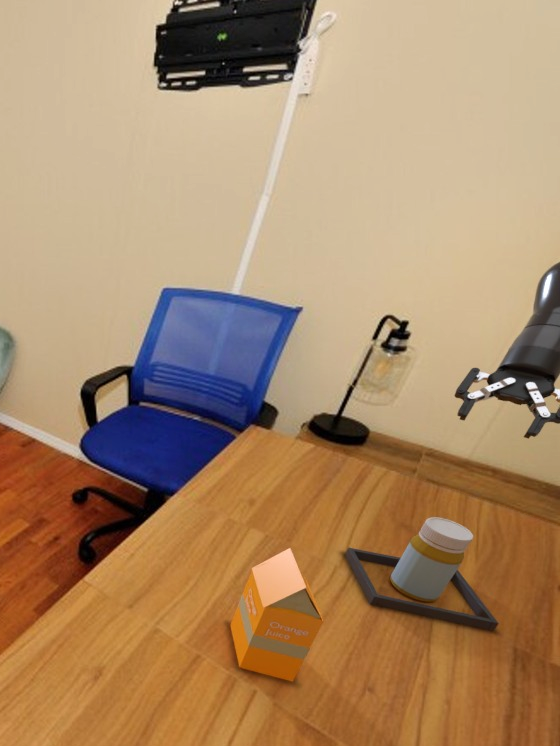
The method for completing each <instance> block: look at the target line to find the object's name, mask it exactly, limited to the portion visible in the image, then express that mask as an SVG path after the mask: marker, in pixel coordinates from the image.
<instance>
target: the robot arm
mask: <svg viewBox="0 0 560 746" xmlns="http://www.w3.org/2000/svg"><path fill="white" fill-rule="evenodd" d="M532 307H533V309H532V314H531V316H530V317H529V319H528V321H527V322H526V324H525V326H524V327H523V329H522V331H520V333H519V334H518V335H517V337H516V338H515V339H514V340H513V342H512V343H511V345H510V346H509V348H508V350H507V352H506V354H505V355H504V357H502V358H503V359H502V360H501V362H500V364H499V365H498V366H497V368H496V370H495V371H494V372H491V373H488V372H484V371H481V370H480V368H479V367H473V368H471V369H470V371H469V372H468V373H467V374H466V376H465V377H464V378H463V380H462V381H461V382H460V384H459V386H457V388H456V390H455V393H454V397H455V398H456V399H460V400H461V401H463V402H462V404H461V406H460V407H459V409H458V411H457V417H459V420H461V421H465V420H466V419H467V417H468V416H469V414H470V412H471V411H472V409H473V408H474V406H475V404H476V403H478V402H481V401H487V400H489V399H492V398H496V399H497V401H502V402H510V403H512V404H515V405H517V406H522V405H526V406H527V407H526V408H528V410H529V412H530V413H532V415H533V416H534V419H533V420H532V421H531V423H530V425H529V427H528V428H527V430H526V432H525V433H524V435H523V438H525V439H530V438H531V437H533V438H535V437H538V435H539V434H540V433H541V431H542V429H543V428H544V426H545V424H547V423H554V424H560V405H559V406H558V408H557V409H556V412H550V410H549V408H548V407H547V404H546V400H545V399H546V398H548V397H551V396H554V397H555V402H557V403H560V388H556V387H555V384H556V382H557V380H558V378H559V377H560V261H558V262H556V263H554V264H553V265H551V266H550V267H549V268H548V269H547V270H545V271H544V273H542V276H541V277H540V279H539V280H538V282H537V286H536V290H535V295H534V300H533V305H532ZM481 381H486V383H487V385H486V386H483V387H482V388H480V389H478V390H476V391H472V392H469V389H470V388H471V387H472V384H477V383H480V382H481Z"/></svg>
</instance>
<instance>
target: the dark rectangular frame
mask: <svg viewBox="0 0 560 746" xmlns="http://www.w3.org/2000/svg"><path fill="white" fill-rule="evenodd" d="M344 556H345V558H346V561H347V562H348V564H349V566H350V568H351V570H352V572H353V574H354V576H355V578H356V579H357V581H358V583H359V586H360V588H361V589H362V591H363V594H364V595H365V597H366V598H367V600H368V603H369V604H370V605H372V606H376V607H377V606H378V607H381V608H387V609H390V610H394V611H395V610H396V611H401V612H404V613H409V614H414V615H418V616H422V617H427V618H432V619H434V620H435V619H436V620H441V621H445V622H450V623H453V624H458V625H463V626H468V627H472V628H477V629H481V630H486V631H490V632H494V631H495V629H496V628H497V627H498V625H499V621H498V620H497V619H496V618H495V617H494V615H493V614H492V612H491V611H490V610H489V608H488V607H487V606H486V604H485V603H484V602H483V601H482V599H481V598H480V597H479V595H478V594H477V593H476V591H474V589H473V588H472V586H471V585H470V584H469V582H467V580H466V579H465V577H464V576H463V575H462V573H461V572H460V571H459V569H457V571H456V572H455V574H454V575H453V577H452V578H451V580H450V581H451V582H452V584H453V586H454V587H455V588H456V589H457V591H458V592H459V593H460V595H461V596H462V597H463V599H464V600H465V601H466V603H467V605H468V606H469V607H470V608H471V610H472V611H473V612H474V614H469V613H465V612H460V611H456V610H451V609H447V608H441V607H437V606H433V605H428V604H423V603H420V602H419V603H418V602H415V601H409V600H404V599H400V598H395V597H390V596H386V595H381V594H378V592H377V590H376V588H375V587H374V584H373V583H372V581H371V579H370V578H369V576H368V573H367V572H366V570H365V568H364V566H363V564H362V563H361V561H364V562H368V563H372V564H373V563H374V564H378V565H384V566H388V567H393V568H395V567H396V565H397V564H398V562H399V560H400V558H401V557H399V556H395V555H390V554H384V553H380V552H379V553H378V552H373V551H368V550H364V549H358V548H353V547H347V549H346V551H345V553H344Z"/></svg>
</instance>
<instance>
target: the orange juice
mask: <svg viewBox="0 0 560 746" xmlns="http://www.w3.org/2000/svg"><path fill="white" fill-rule="evenodd" d="M324 621H325V620H324V619H323V616H322V614H321V611H320V609H319V606H318V604H317V602H316V599H315V597H314V594H313V592H312V590H311V587H310V585H309V582H308V580H307V578H305V575H304V574H303V572H302V570H301V568H300V566H299V563H298V562H297V561H296V559H295V556H294V553H293V551H292V549H291V547H289V548H287V549H285V550H283V551H281V552H279V553H278V554H276V555H274V556H272V557H269V558H268V559H266V560H264V561H263V562H261V563H259V564H257V565H255V566H253V567H251V571H250V574H249V577H248V579H247V582H246V584H245V587H244V590H243V592H242V594H241V596H240V598H239V601H238V605H237V607H236V610H235V613H234V615H233V618H232V620H231V622H230V630H231V635H232V640H233V644H234V648H235V653H236V654H235V655H236V658H237V662H238V667H239V669H243V670H248V671H251V672H255V673H258V674H261V675H267V676H269V677H274V678H277V679H281V680H285V681H288V682H294V681H295V678H296V677H297V674H298V673H299V670H300V668H301V666H302V664H303V662H304V661H305V659H306V658H307V656H308V654H309V652H310V650H311V647H312V645H313V643H314V641H315V639H316V637H317V636H318V633H319V631H320V630H321V628H322V625H323V624H324Z"/></svg>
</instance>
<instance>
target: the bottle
mask: <svg viewBox="0 0 560 746" xmlns="http://www.w3.org/2000/svg"><path fill="white" fill-rule="evenodd" d="M473 540H474V534H473V532H472V531H471V530H470V529H468V528H467V527H466V526H464V525H462V524H460V523H458V522H455V521H453V520H450V519H448V518H444V517H436V516H435V517H434V516H433V517H429V518H427V519H425V521H424V522H423V524H422V526H421V528H420V530H419V532H418V533H416V534H415V535H414V536H412V538H411V539H410V541H409V543H407V544H408V545H407V546H406V548H405V549H404V552H403V553H402V555H401V557H400V560H399V562H398V564H397V565H396V567H394V569H393V571H392V572H391V575H390V577H389V580H390V583H391V584H392V586H393V587H394V589H395V590H397V591H398V592H399V593H400V594H402V595H403V596H405V597H407V598H410V599H411V600H415V601H418V602H423V603H428V602H436V601H437V600H439V599H440V597H441V596H442V594H443V592H444V591H445V590H446V588H447V586H448V585H449V583H450V581H451V578H452V577H453V575H454V574H455V572H456V571H457V570H459V568H460V566H461V565H462V563H463V561H464V560H465V551H466V550H467V548H468V547H469V545H470V544H471V543H472V541H473Z"/></svg>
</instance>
